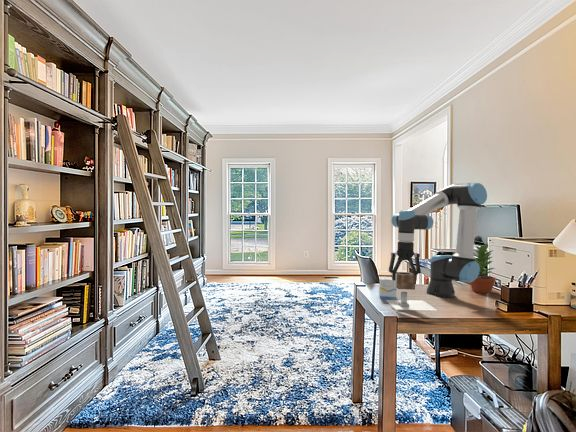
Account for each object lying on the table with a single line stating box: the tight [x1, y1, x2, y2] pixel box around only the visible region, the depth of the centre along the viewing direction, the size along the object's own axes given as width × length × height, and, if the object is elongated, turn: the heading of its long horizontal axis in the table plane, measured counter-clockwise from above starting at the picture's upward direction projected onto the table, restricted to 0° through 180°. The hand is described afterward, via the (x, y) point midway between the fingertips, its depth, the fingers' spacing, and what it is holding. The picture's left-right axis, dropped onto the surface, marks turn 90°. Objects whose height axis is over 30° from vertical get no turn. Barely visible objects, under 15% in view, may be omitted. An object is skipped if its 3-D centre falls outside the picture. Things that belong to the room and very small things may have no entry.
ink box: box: [378, 276, 398, 300], centre depth 192 cm, size 9×8×12 cm
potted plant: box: [470, 243, 497, 294], centre depth 217 cm, size 15×15×30 cm
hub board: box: [385, 291, 438, 313], centre depth 177 cm, size 20×18×8 cm
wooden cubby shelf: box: [393, 271, 416, 291], centre depth 175 cm, size 8×8×8 cm
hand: (404, 287), depth 175 cm, fingers closed on wooden cubby shelf, 8 cm apart
